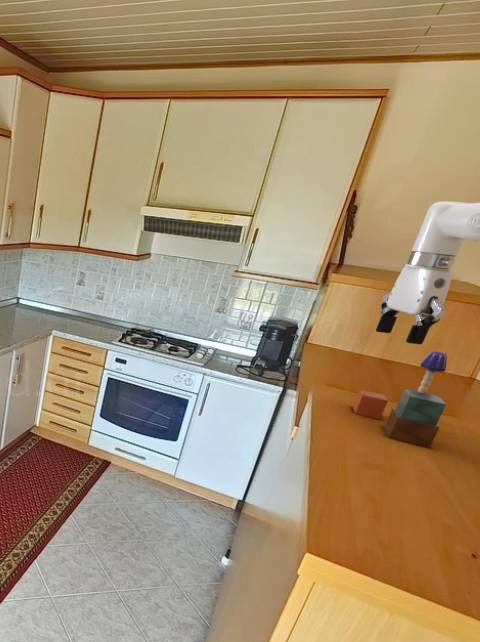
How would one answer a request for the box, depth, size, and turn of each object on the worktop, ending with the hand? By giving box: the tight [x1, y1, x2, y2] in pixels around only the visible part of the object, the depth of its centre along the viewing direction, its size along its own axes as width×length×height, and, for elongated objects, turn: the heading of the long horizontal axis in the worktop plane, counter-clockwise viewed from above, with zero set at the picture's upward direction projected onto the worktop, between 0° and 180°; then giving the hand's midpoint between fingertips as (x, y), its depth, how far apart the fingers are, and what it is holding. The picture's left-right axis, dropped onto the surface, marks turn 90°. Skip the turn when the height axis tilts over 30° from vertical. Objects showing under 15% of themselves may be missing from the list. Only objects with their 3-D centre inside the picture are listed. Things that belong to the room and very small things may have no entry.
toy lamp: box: [417, 350, 448, 394], centre depth 120 cm, size 5×5×17 cm
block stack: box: [383, 388, 447, 449], centre depth 107 cm, size 7×7×10 cm
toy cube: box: [352, 389, 389, 420], centre depth 121 cm, size 5×5×5 cm
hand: (397, 337), depth 112 cm, fingers open, 9 cm apart
